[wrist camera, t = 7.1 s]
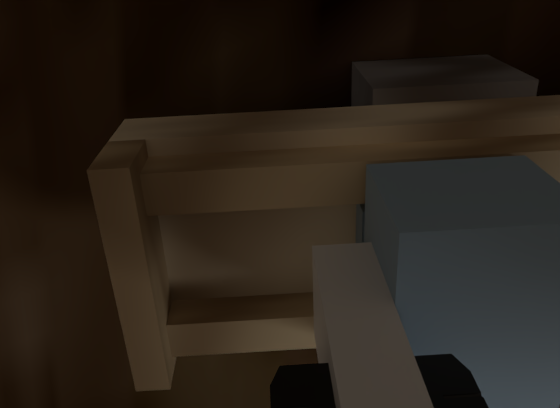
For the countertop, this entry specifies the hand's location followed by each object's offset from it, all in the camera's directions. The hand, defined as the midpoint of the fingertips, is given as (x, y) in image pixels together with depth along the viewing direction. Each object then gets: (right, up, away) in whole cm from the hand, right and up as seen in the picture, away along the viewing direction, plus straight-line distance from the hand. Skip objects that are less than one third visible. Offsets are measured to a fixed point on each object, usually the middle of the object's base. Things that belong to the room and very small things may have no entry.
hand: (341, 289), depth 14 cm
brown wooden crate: (+4, +4, +7) cm, 9 cm away
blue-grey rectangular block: (+3, +1, +2) cm, 4 cm away
